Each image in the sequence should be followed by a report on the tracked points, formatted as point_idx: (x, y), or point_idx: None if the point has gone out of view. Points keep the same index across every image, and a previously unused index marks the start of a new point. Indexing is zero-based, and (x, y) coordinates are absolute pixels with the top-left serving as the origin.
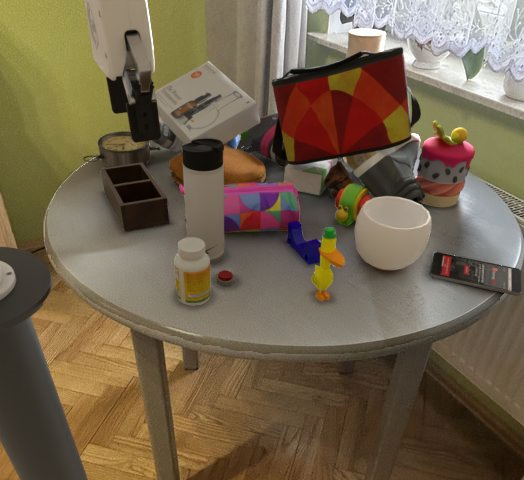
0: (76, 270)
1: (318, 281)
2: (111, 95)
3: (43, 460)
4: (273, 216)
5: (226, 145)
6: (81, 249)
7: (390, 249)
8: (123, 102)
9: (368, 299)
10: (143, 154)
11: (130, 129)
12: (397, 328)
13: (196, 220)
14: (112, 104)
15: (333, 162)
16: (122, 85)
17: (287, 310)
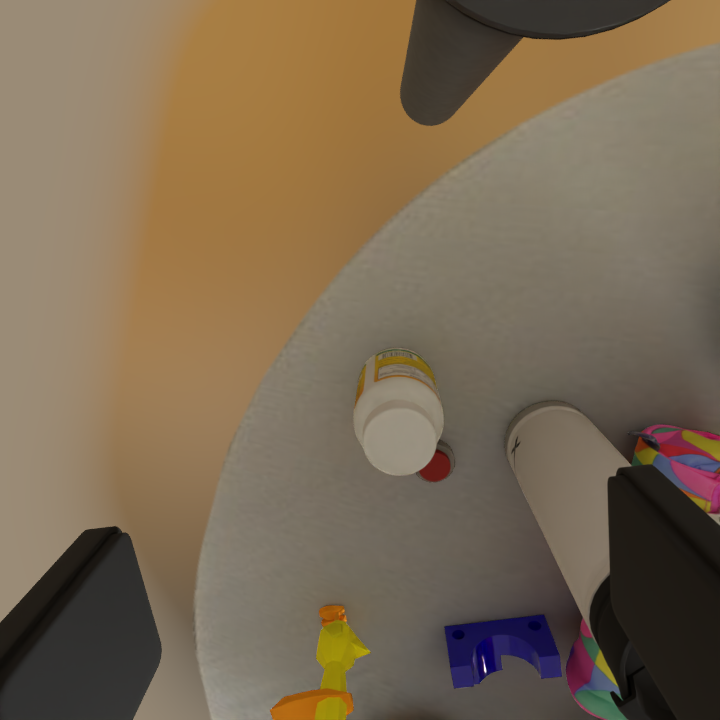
0: (588, 108)
1: (325, 635)
2: (666, 537)
3: (414, 29)
4: (591, 636)
5: None
6: (692, 126)
7: None
8: (634, 572)
9: (308, 682)
10: None
11: (60, 565)
12: (221, 691)
13: (550, 474)
14: (647, 494)
15: None
16: (702, 676)
17: (307, 544)
